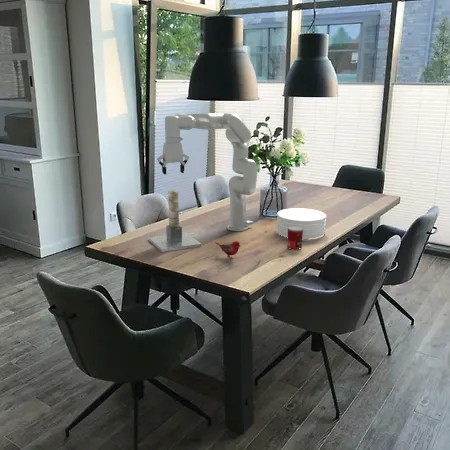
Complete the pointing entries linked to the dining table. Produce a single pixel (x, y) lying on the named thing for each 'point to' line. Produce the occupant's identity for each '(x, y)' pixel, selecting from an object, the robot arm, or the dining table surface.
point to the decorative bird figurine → (230, 248)
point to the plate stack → (301, 221)
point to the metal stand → (174, 240)
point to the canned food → (295, 237)
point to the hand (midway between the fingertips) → (173, 173)
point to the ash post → (173, 209)
